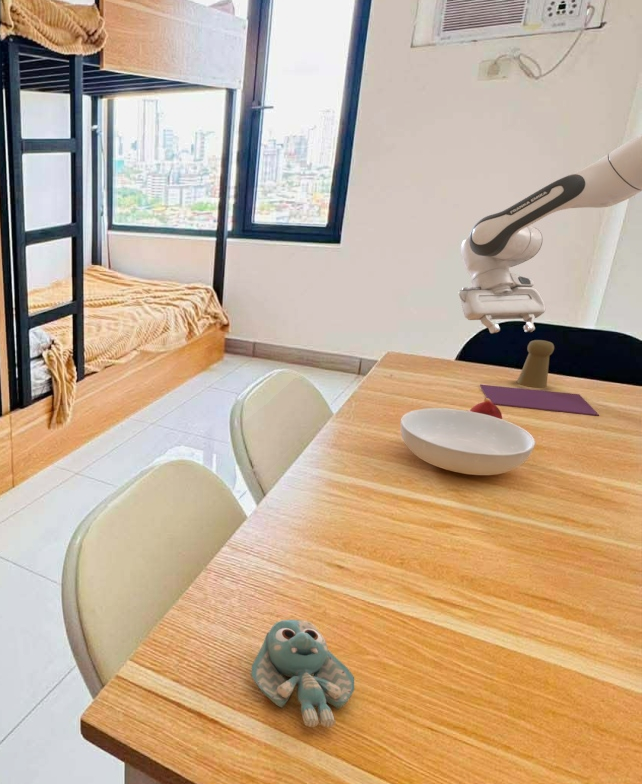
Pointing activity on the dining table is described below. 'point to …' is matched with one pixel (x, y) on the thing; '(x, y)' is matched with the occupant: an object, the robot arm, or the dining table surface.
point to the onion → (487, 409)
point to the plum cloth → (538, 399)
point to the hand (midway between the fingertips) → (513, 331)
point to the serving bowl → (466, 441)
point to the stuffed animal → (302, 671)
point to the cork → (536, 364)
